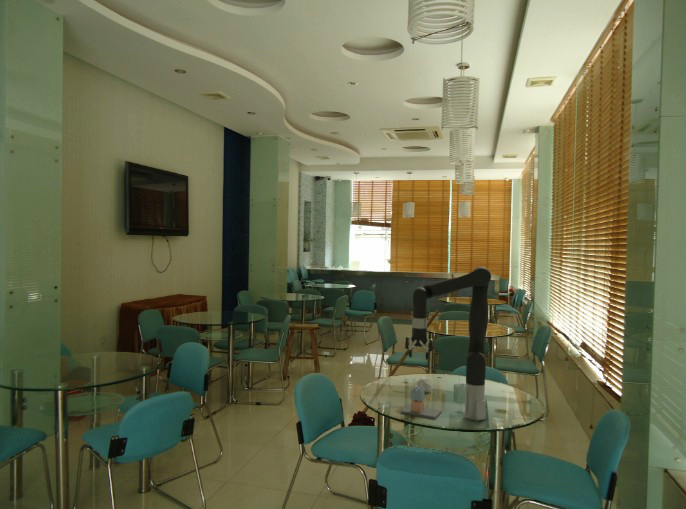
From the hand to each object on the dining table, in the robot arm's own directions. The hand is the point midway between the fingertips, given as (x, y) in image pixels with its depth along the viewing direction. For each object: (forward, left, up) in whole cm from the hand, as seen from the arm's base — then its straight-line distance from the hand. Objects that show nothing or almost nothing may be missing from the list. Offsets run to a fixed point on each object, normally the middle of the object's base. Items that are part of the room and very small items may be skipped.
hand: (418, 358), depth 264 cm
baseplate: (-2, -1, -28) cm, 28 cm away
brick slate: (0, 0, -21) cm, 21 cm away
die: (+29, -27, -28) cm, 49 cm away
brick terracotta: (0, 0, -27) cm, 27 cm away
